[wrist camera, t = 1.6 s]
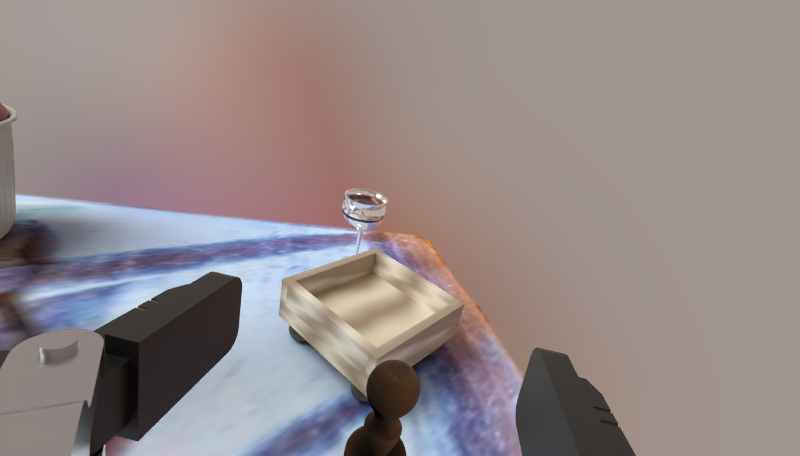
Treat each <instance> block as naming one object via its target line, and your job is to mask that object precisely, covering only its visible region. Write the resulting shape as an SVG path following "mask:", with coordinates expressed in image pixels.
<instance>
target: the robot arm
mask: <svg viewBox="0 0 800 456" xmlns="http://www.w3.org/2000/svg"><path fill="white" fill-rule="evenodd" d="M241 294H242V282H241V279H240V278H238V277H234V276H230V275H225V274H221V273H217V272H210V273H208V274H206V275H204V276H203V277H201V278H199V279H197V280H196V281H194V282H192V283H191V284H186V285H183V286H179V287H176V288H172V289H169V290H166V291H164V292H163V293H161V294H159V295H157V296H155V297H154V298H152V299H151V301H149V300H148V301H147V302H145V303H143V304H141V305H139V306H138V308H134V309H132V310H130V311H129V312H127V313H125V314H123V315H122V316H120V317H118V318H116V319H114V320H113V321H111V322H109V323H107V324H106V325H104V326H102V327H100V328H98V329H97V330H95V331H88V330H82V329H66V330H58V331H52V332H48V333H44V334H40V335H37V336H34V337H32V338H29V339H27V340H25V341H23V342H21V343H20V344H18V345H17V346H15V347H14V348H13V349H12V350H11V351H0V456H105V444H106V443H107V442H108V441H109V440H110V439H111V438H113V437H114V436H115V435H116V436H120V437H124V438H127V439H131V440H134V441H139V440H140V439H141V438H142V437H143V436H144V435H145V434H146V433H147V432H148V431H149V430H150V429H151V428H152V427H153V426H154V425H155V424H156V423H157V422H158V421H159V420H160V419H161V418H162V417H163V416H164V415H165V414H166V413H167V412H168V411H169V410H170V409H171V408H172V407H173V406H174V405H175V404H176V403H177V402H178V401H179V400H180V399H181V398H182V397H183V396H184V395H185V394H186V393H187V392H188V391H189V390H190V389H191V388H192V387H193V386H194V385H195V384H196V383H198V382H199V381H200V380H201V379H202V378H203V377H204V376H205V375H206V374H207V373H208V372H209V371H210V370H211V369H212V368H213V367H214V366H215V365H216V364H217V363H218V362H219V361H220V360H221V359H222V358H223V357H224V356H225V355H226V354H227V353H228V352H229V351H230V349H231V348H232V346H233V344H234V342H235V340H236V337H237V334H238V328H239V317H240V306H241ZM610 411H611V410H610V408H609V407H608V405H607V403H606V401H605V399H604V397H603V396H602V394H601V393H600V392H599V391H598V390H597V389H596V388H595V387H594V386H593V385H591V383H590V382H588V381H587V380H586V379H584V378H580V377H578V375H577V373H576V371H575V370H574V368H573V365H572V363H571V361H570V359H569V357H568V356H567V355H566V354H563V353H559V352H554V351H549V350H545V349H541V348H535V349H534V350H533V352H532V354H531V358H530V360H529V364H528V367H527V370H526V373H525V377H524V380H523V383H522V386H521V390H520V393H519V396H518V400H517V405H516V426H517V431H518V436H519V441H520V445H521V450H522V455H523V456H636V455H635V453H634V452H633V450H632V448H631V446H630V444H629V443H628V441H627V439H626V437H625V435H624V434H623V432H622V430H621V428H620V427H618V423H617V421H616V419H615V417H614V416H613V414H612V413H610Z"/></svg>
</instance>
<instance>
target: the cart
mask: <svg viewBox="0 0 800 456" xmlns="http://www.w3.org/2000/svg"><path fill="white" fill-rule="evenodd" d="M463 307H464V303H462V302H461V301H459V300H457V299H456V298H454V297H453V296H451V295H449V294H448V293H446V292H445V291H443V290H442V289H440V288H438V287H437V286H435V285H434V284H432V283H430V282H429V281H427V280H426V279H424V278H423V277H421V276H419V275H418V274H416V273H415V272H413V271H411V270H410V269H408V268H407V267H405V266H404V265H402V264H400V263H399V262H397V261H396V260H394V259H392V258H391V257H389V256H388V255H386V254H385V253H383V252H381V251H380V250H378V249H377V248H374V249H371V250H368V251H365V252H362V253H359V254H356V255H353V256H350V257H347V258H344V259H341V260H338V261H335V262H332V263H329V264H326V265H323V266H320V267H317V268H314V269H311V270H308V271H305V272H302V273H299V274H296V275H293V276H290V277H287V278H284V279H282V288H281V298H280V309H279V316H280V317H282V318H283V319H284V320H285V321H286V322H287V323H288V324H289V325H290V326H289V332H290V335H291V336H292V337H293V338H294V339H295V340H297V341H307V342H308V343H309V344H310V345H312V346H313V347H314V348H315V349H316V350H317V351H318V352H319V353H320V354H321V355H322V356H323V357H324V358H325V359H327V360H328V361H329V362H330V363H331V364H332V365H333V366H334V367H335V368H336V369H337V370H338V371H339V372H340V373H342V374H343V375H344V376H345V377H346V378H347V379H348V380H349V381H350V382H351V383H352V385H351V389H352V393H353V395H354V397H355V398H356V399H358V400H359V401H362V402H369V401H368V398H367V393H366V385H367V381H368V378H369V375H370V374H371V372H372V371H373V369H374V368H375V367H376V366H377V365H379V364H380V363H382V362H384V361H387V360H393V359H394V360H400V361H403V362H405V363H407V364H408V365H410V366H411V367H412V366H413V365H415V364H416V363H418V362H419V361H420V360H422V359H423V358H425V357H426V356H432V355H435V354H436V353H437V352H438V351H439V349H440V347H441V345H443V344H444V343H446V342H447V341H448V340H450V339H451V338H453V337H454V334H455V331H456V328H457V325H458V322H459V319H460V316H461V313H462V310H463Z"/></svg>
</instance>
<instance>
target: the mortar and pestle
mask: <svg viewBox="0 0 800 456" xmlns="http://www.w3.org/2000/svg"><path fill="white" fill-rule="evenodd" d="M366 393H367V398H368V401H369V403H370V405H371V407H372V409H373V412H371V413H370V414H368V415H367V417H366V419H365V422H364V426H362V427H360V428H358V429H357V430H356V431H354V432H353V433H352V434H351V436H350V437H349V439H348V441H347V443H346V447H345V452H344V456H406V450H405V447H404V444H403V442H402V440H401V439H400V435H401V432H402V425H401V422H400V420H399V418H400V417H402V416H404V415H406V414H407V413H408V412H410V411H411V410H412V409H413V408H414V406H415V405H416V403H417V401H418V398H419V394H420V383H419V379H418V376H417V374H416V372H415V371H414V369H413V368H412V367H411V366H410V365H408V364H407V363H405V362H403V361H400V360H394V359H393V360H387V361H384V362H382V363H380V364H379V365H377V366H376V367H375V368H374V369H373V371H372V372H371V374H370V375H369V378H368V381H367V385H366Z"/></svg>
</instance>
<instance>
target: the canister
mask: <svg viewBox="0 0 800 456" xmlns="http://www.w3.org/2000/svg"><path fill="white" fill-rule="evenodd" d="M17 117H18V114H17V112H16V111H15V110H14V109H13V108H11V107H9V106H7V105H5V104H2V103H0V239H1V238H3V237H4V236H5V235H6V234H7V233H8V232H9V230H10V229H11V227H12V225H13V223H14V219H15V210H16V201H15V168H14V148H13V133H12V123H13V122H14V121H16V119H17Z"/></svg>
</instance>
